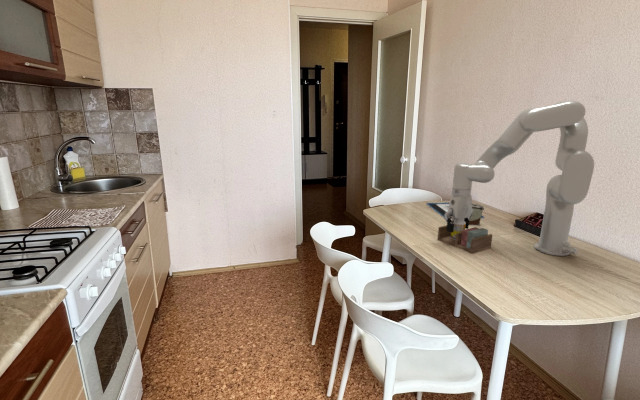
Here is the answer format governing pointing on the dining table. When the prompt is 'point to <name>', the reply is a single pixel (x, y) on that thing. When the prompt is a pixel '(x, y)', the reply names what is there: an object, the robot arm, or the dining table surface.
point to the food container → (476, 214)
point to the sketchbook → (440, 207)
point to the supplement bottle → (458, 227)
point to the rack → (467, 239)
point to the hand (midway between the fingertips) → (457, 229)
